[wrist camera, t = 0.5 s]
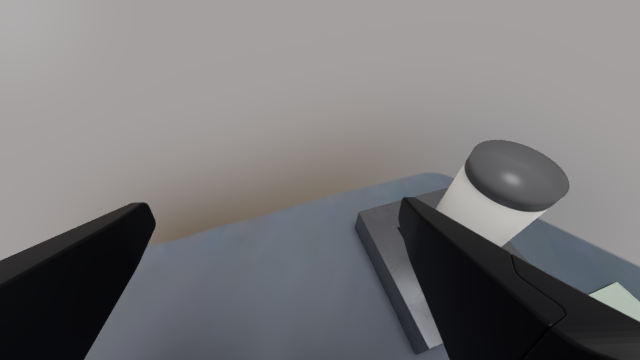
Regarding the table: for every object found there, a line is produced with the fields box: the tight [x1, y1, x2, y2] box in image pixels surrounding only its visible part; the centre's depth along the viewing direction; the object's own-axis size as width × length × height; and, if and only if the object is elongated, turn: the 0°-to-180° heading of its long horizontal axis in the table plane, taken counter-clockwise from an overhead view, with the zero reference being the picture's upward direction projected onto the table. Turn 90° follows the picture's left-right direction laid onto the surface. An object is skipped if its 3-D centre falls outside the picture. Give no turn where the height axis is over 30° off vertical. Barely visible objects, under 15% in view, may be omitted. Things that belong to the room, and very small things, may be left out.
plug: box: [436, 140, 569, 247], centre depth 19 cm, size 5×5×13 cm
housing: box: [355, 188, 528, 354], centre depth 23 cm, size 12×12×3 cm
